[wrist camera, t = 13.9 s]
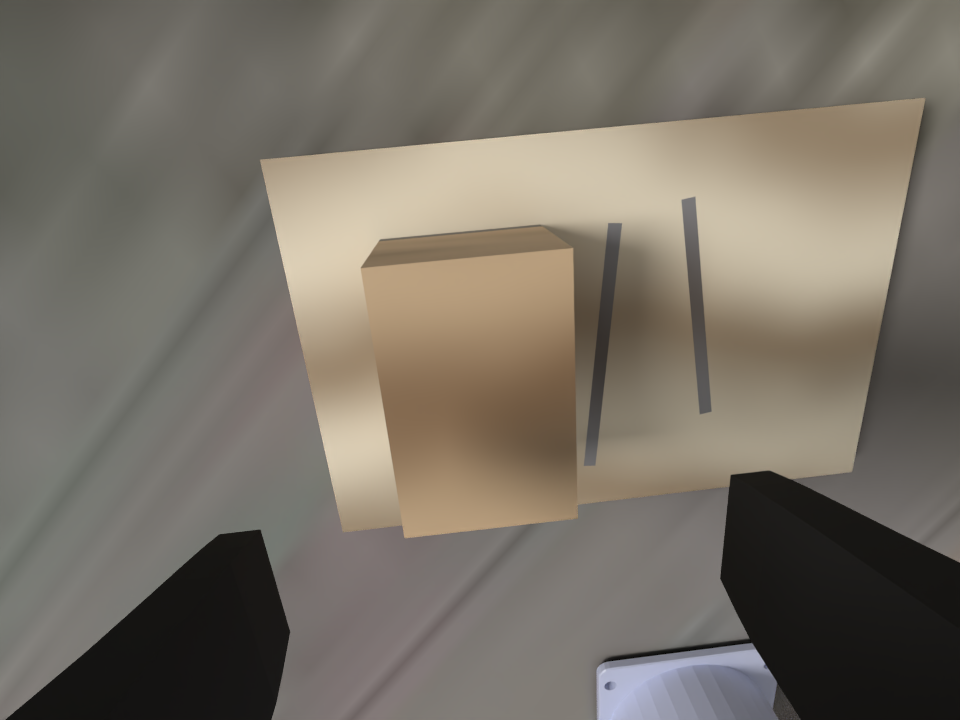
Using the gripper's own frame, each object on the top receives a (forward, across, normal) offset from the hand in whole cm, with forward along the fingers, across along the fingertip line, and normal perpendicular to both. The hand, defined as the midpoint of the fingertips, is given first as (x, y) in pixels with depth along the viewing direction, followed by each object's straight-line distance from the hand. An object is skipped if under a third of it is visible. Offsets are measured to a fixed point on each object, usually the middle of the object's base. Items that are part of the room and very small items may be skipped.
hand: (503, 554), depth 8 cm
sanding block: (+9, 0, 0) cm, 9 cm away
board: (+10, -4, 0) cm, 11 cm away
